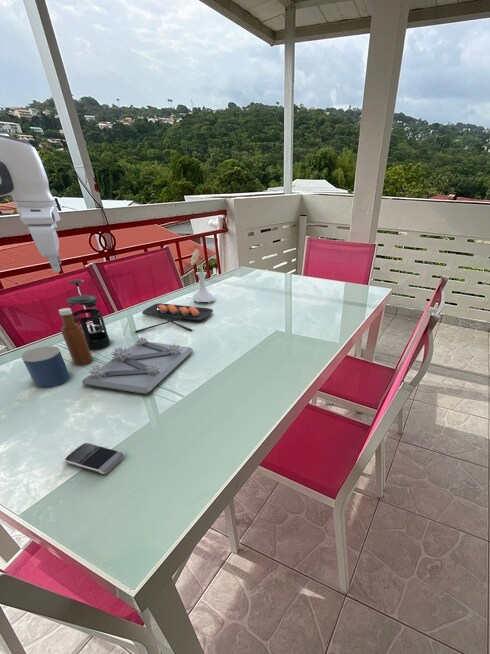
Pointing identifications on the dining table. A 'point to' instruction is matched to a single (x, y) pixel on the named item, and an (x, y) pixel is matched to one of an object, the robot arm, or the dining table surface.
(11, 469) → the dining table surface
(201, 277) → the flower in vase
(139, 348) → the decorative plate
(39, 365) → the tin can
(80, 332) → the bottle
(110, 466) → the cell phone
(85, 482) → the dining table surface
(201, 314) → the sushi plate
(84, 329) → the french press
